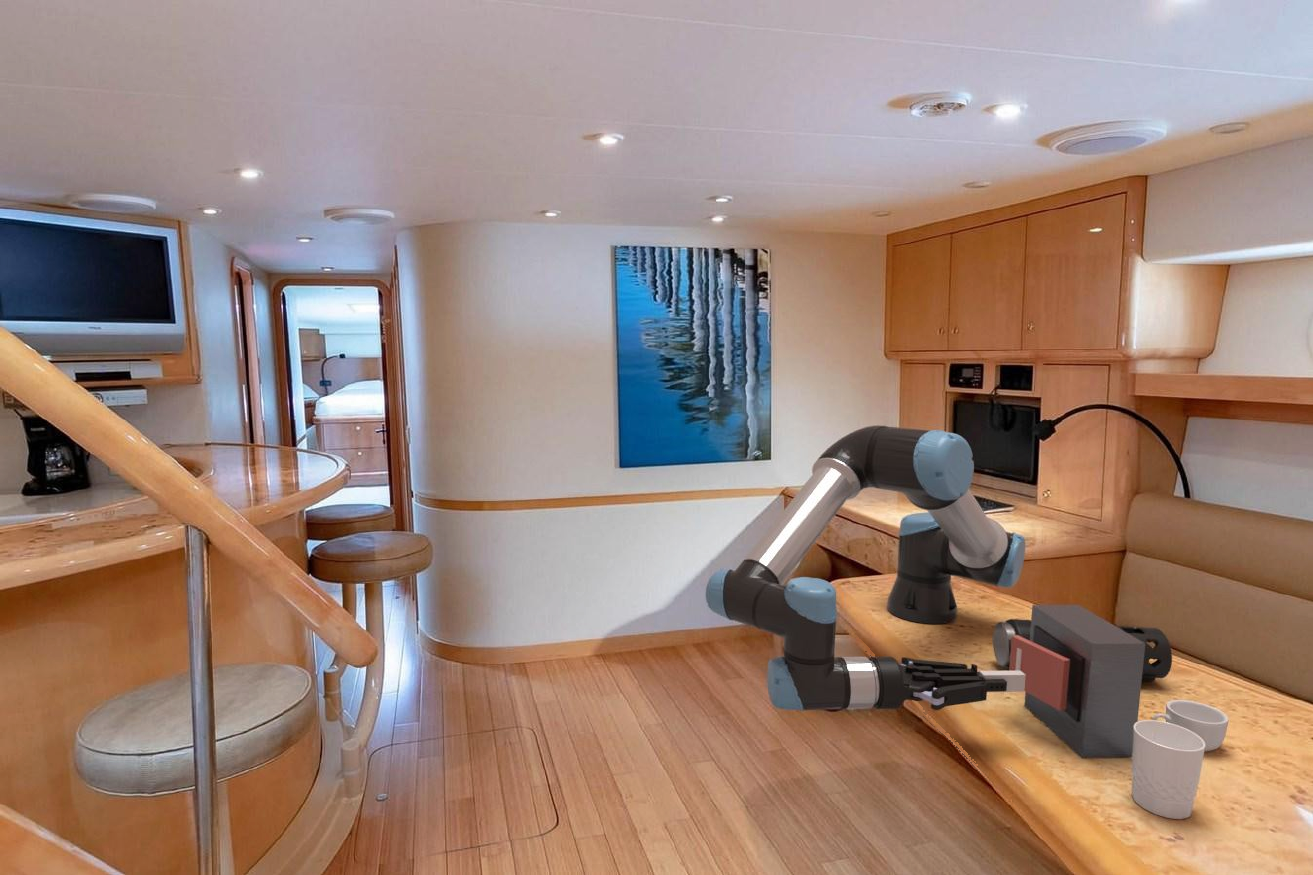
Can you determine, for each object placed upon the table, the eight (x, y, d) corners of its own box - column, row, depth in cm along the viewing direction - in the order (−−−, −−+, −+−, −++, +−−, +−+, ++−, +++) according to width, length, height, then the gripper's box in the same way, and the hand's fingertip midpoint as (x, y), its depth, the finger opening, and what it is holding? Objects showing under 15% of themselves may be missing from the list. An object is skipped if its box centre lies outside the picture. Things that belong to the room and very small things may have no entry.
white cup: (1113, 787, 102) (1119, 720, 101) (1165, 785, 103) (1173, 718, 102) (1156, 824, 94) (1163, 752, 93) (1212, 821, 95) (1221, 749, 94)
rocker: (1007, 682, 121) (1010, 636, 120) (1013, 680, 121) (1017, 634, 120) (1058, 710, 112) (1063, 660, 110) (1065, 709, 112) (1070, 659, 111)
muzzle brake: (1170, 693, 131) (1176, 638, 129) (1006, 683, 134) (1010, 629, 132) (1141, 670, 140) (1146, 618, 139) (989, 661, 143) (993, 610, 142)
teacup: (1206, 733, 117) (1209, 701, 116) (1236, 759, 110) (1240, 726, 109) (1138, 727, 119) (1141, 696, 118) (1163, 753, 111) (1167, 720, 110)
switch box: (1022, 705, 125) (1030, 605, 123) (1069, 705, 126) (1078, 604, 123) (1080, 758, 109) (1090, 643, 107) (1133, 757, 110) (1145, 643, 107)
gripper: (855, 686, 117) (998, 684, 119) (885, 728, 104) (1045, 726, 106) (858, 641, 116) (1001, 640, 118) (887, 678, 103) (1049, 676, 105)
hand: (1022, 680), depth 112 cm, fingers closed
